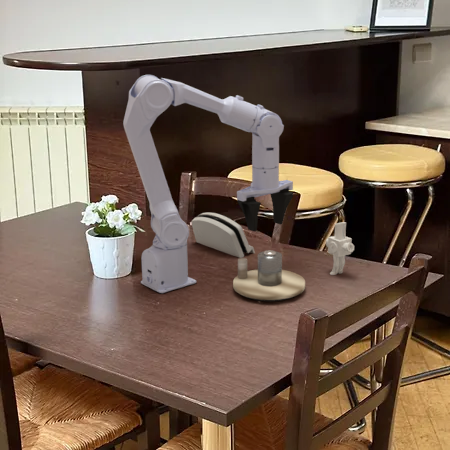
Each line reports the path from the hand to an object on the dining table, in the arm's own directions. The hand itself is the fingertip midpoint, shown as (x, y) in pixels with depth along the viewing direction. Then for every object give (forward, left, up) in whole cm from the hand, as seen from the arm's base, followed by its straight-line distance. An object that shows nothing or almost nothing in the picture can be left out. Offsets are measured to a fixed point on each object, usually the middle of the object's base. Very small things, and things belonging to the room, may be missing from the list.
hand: (265, 226), depth 170 cm
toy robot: (+11, -12, -11) cm, 19 cm away
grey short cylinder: (-7, -9, -8) cm, 14 cm away
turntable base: (-7, -9, -10) cm, 15 cm away
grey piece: (+2, +19, -11) cm, 22 cm away
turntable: (-7, -9, -10) cm, 15 cm away
